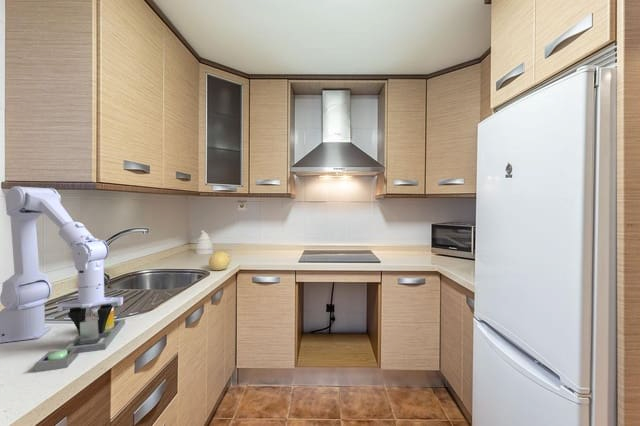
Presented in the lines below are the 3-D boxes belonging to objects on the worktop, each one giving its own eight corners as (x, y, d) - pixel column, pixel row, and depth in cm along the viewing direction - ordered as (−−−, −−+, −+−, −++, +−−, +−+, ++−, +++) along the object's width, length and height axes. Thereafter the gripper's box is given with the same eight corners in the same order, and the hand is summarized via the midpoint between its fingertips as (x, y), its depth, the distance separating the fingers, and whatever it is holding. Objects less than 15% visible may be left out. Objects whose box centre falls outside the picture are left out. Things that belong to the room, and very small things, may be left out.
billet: (80, 344, 79) (79, 322, 79) (86, 338, 83) (86, 317, 83) (98, 342, 81) (97, 320, 80) (103, 336, 84) (102, 315, 84)
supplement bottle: (118, 327, 93) (117, 297, 93) (106, 335, 87) (105, 303, 87) (100, 328, 93) (100, 297, 92) (87, 335, 87) (87, 303, 87)
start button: (44, 366, 70) (44, 357, 70) (52, 358, 73) (52, 350, 73) (63, 363, 71) (63, 355, 71) (70, 356, 74) (70, 348, 74)
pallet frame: (64, 354, 76) (64, 349, 76) (91, 327, 93) (91, 322, 93) (105, 349, 79) (105, 343, 79) (124, 323, 96) (124, 319, 96)
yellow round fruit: (233, 268, 181) (233, 250, 181) (220, 272, 170) (220, 253, 169) (218, 266, 185) (218, 249, 184) (204, 270, 174) (204, 252, 173)
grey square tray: (35, 372, 68) (35, 363, 68) (49, 359, 74) (48, 351, 74) (67, 367, 70) (66, 359, 70) (78, 355, 76) (78, 347, 76)
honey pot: (192, 253, 235) (192, 231, 234) (203, 251, 247) (203, 229, 246) (205, 254, 231) (205, 231, 230) (216, 252, 243) (216, 230, 242)
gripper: (51, 291, 75) (52, 343, 76) (117, 286, 80) (118, 335, 81) (64, 284, 82) (65, 332, 82) (124, 279, 87) (125, 325, 87)
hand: (92, 333), depth 82 cm, fingers closed on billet, 4 cm apart
